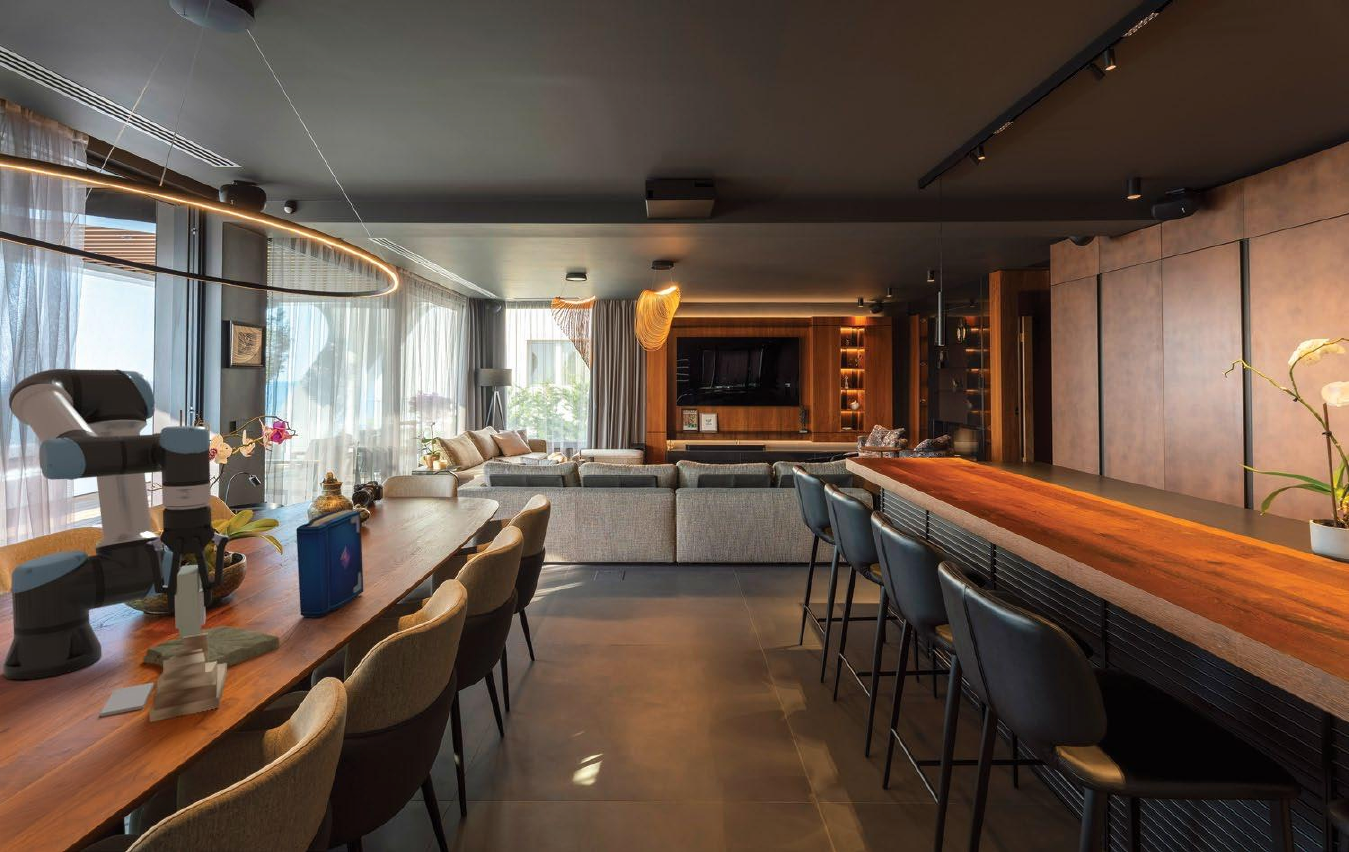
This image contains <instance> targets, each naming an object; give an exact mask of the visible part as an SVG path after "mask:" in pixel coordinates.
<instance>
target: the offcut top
mask: <svg viewBox="0 0 1349 852" xmlns="http://www.w3.org/2000/svg"><path fill="white" fill-rule="evenodd" d="M162 668H163V670H162V672H164V681H165V680H169V679H174V678H178V677H183V676H188V675H192V674H197V673H202V672H205V658H204V653H199V654H194V655H189V656H184V657H179V658H174V659H169V660H164V661H163V667H162Z"/></svg>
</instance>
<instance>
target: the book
mask: <svg viewBox="0 0 1349 852" xmlns="http://www.w3.org/2000/svg"><path fill="white" fill-rule="evenodd" d="M361 521H362V520H361V510H360V509H356V510H351V509H345V510H341V509H337V510H333V511H329V512H326V513H323V514H321V515H319V516H317V517H314V518H312V519H310V520H309V521H308V522H307V523H304V524H301V525H300V526H298V527H297V528H296V549H297V567H298V568H297V569H298V590H299V607H300V609H299V610H300V615H301V616H302V617H307V618H321V617H324V616H325V615H327V614H328V613H330V612H334V611H337V610H338V609H340V608H342V607H344V606H345V605H347V604H349V603H350V602H351V601H353V600H354V599H355V598H356V597H358V596H359V595H360V594H362V593H363V592H364V573H363V569H364V568H363V549H362V547H363V546H362V544H363V543H362V522H361ZM346 603H347V604H346ZM341 606H342V607H341ZM336 609H337V610H336ZM333 610H334V611H333Z"/></svg>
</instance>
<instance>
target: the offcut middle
mask: <svg viewBox="0 0 1349 852" xmlns="http://www.w3.org/2000/svg"><path fill="white" fill-rule="evenodd" d="M217 674H218V672H217V661H215V662H209V663H205V672H202V673H197V674H192V675H188V676H183V677H178V678H174V679H169V680H165V681H164V672H163V671H162V673H161V674H160V675H159V677H158V678H157V680H156V681H157V683H156V686H157V685H158V693H163V692H169V691H175V690H182V689H188V688H194V687H201V686H207V685H212V684H213V682H214V680H215V678H216V676H217Z"/></svg>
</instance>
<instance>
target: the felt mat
mask: <svg viewBox="0 0 1349 852" xmlns="http://www.w3.org/2000/svg"><path fill="white" fill-rule="evenodd" d="M154 686H155V682H149V683H144V684H137V685H132V686H128V687H122V688H115V689H114V690H113V692H112V693H111V695H110V696H109V698H108V700H107V702H106V703H105V705H104V706H103V708H102V710H101V711H100V713H99V716H100V717H101V718H102V717H106V716H107V717H108V716H111V715H116V714H121V713H126V712H132V711H137V710H142V709H144V708H145V706H146V703H147V702H148V699H149V697H150V695H151V693H152V691H153V688H154Z"/></svg>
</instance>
